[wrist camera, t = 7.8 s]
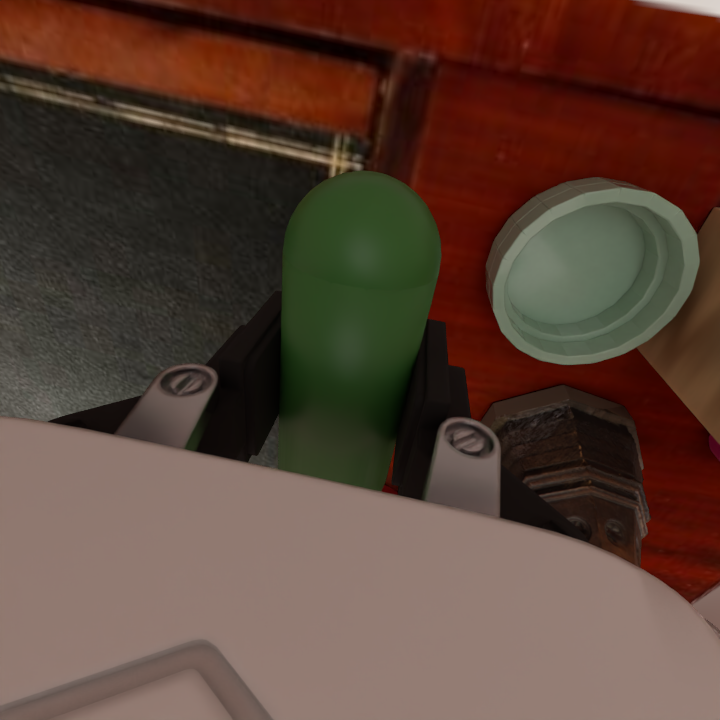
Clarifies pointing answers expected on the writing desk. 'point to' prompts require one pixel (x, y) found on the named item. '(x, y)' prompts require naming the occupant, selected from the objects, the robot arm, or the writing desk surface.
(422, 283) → the cucumber
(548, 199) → the pale green round dish
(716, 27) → the writing desk surface
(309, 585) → the robot arm
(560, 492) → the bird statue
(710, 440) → the pepper mill
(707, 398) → the oak stand
